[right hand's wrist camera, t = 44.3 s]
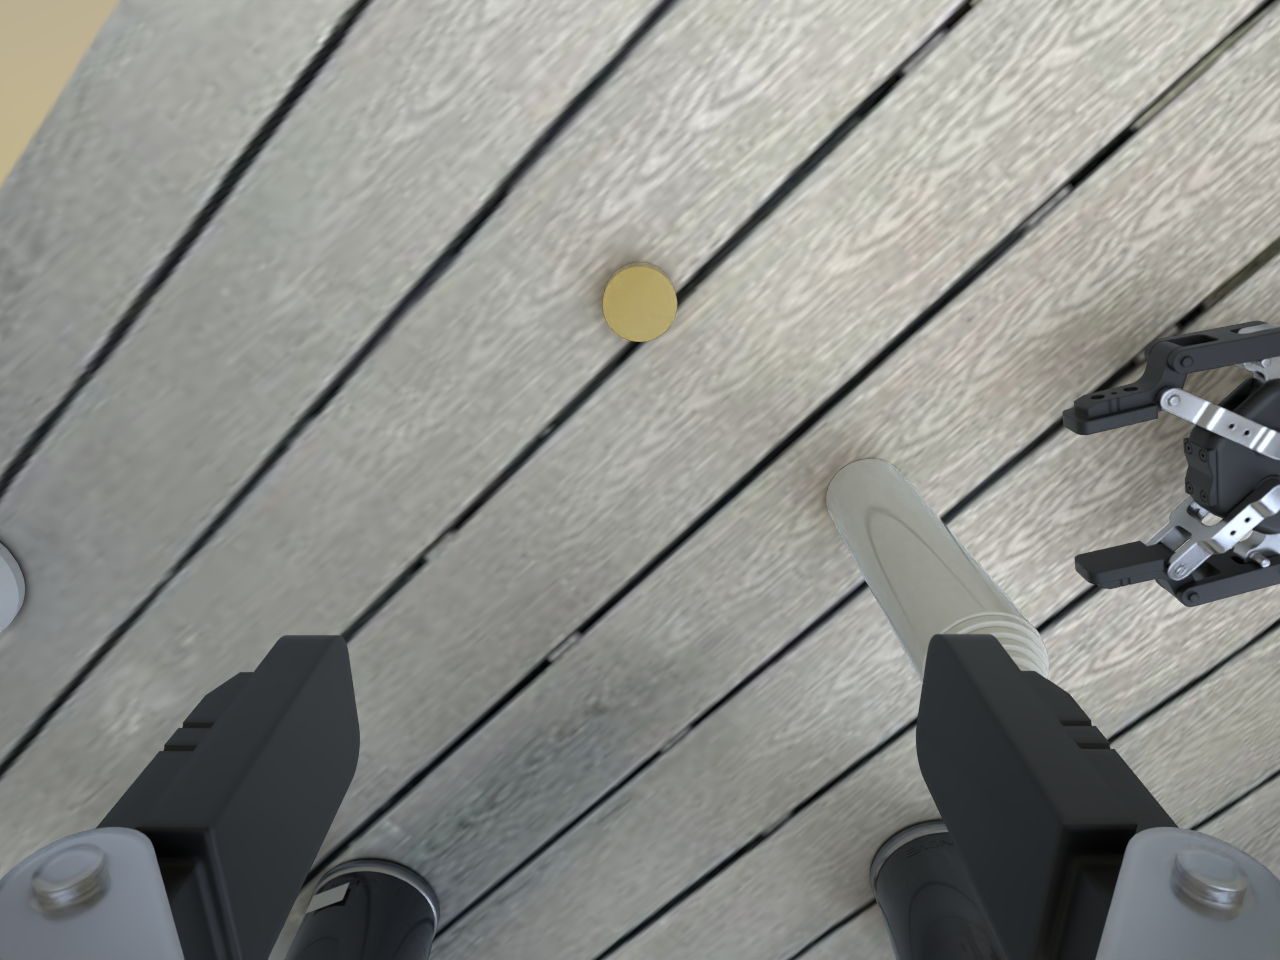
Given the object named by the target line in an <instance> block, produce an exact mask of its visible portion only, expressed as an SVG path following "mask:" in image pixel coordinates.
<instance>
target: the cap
mask: <svg viewBox="0 0 1280 960" xmlns="http://www.w3.org/2000/svg"><path fill="white" fill-rule="evenodd" d="M602 306H603V313H604V316H605V319H606V321H607V323H608V325H609V326H610V327H611V329H612V330H613V331H614V332H615V333H616V334H618V335H619V336H621V337H622V338H625V339H627V340H630V341H635V342H644V341H650V340H653V339H655V338H657V337H659V336H660V335H662V334H663V333H664V332H665V331H666V330H667V329H668V328H669V327H670V325H671V324H672V322H673V320H674V318H675V315H676V311H677V297H676V293H675V289H674V286H673V284H672V282H671V280H670V278H669V277H668V276H667V274H666V273H665V272H664V271H662V270H661V269H660V268H658V267H657V266H654V265H652V264H649V263H644V262H636V263H631V264H628V265H625V266H623V267H621V268H620V269H618V270H617V271H616V272H615V273H614V274H613V275H612V276H611V278H610V279H609V281H608V283H607V285H606V288H605V292H604V295H603V303H602Z"/></svg>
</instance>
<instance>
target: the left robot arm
mask: <svg viewBox="0 0 1280 960" xmlns="http://www.w3.org/2000/svg"><path fill="white" fill-rule="evenodd" d="M1145 358H1146V359H1147V360H1148V363H1147V366H1146V369H1145V372H1144V374H1143V376H1142V377H1141V378H1140V379H1139V380H1138V381H1136V382H1134V383H1132V384H1128V385H1124V386H1120V387H1116V388H1112V389H1108V390H1105V391H1099V392H1096V393H1091V394H1087V395H1083V396H1082V397H1080V398H1079V399H1077V400H1075V401H1074V408H1071V409H1067V410H1065V411H1063V423H1064V426H1065V427H1066V428H1068V429H1070V430H1071V431H1073V432H1075V433H1076V434H1079V435H1089V434H1094V433H1098V432H1102V431H1106V430H1111V429H1115V428H1119V427H1123V426H1127V425H1132V424H1136V423H1140V422H1144V421H1148V420H1153V419H1157V418H1158V411H1162V410H1164V411H1166V412H1169V413H1171V414H1173V415H1176V416H1178V417H1180V418H1182V419H1185V420H1187V421H1189V422H1191V423H1194V424H1196V426H1195V427H1194V428H1193V430H1192V431H1191V433H1190V436H1189V437H1188V438H1184V453H1185V456H1186V459H1187V461H1188V470H1187V474H1186V478H1185V492H1186V493H1188V494H1189V495H1190V496H1189V497H1188V498H1187V499H1186V500H1185V501H1184V502H1183V503H1181V504H1180V505H1179V506H1178V507H1177V508H1176V509H1175V510H1174V511H1173V512H1172V513H1171V514H1170V522H1169V524H1168V525H1167V526H1166V527H1165V528H1163V529H1162V530H1161V531H1160V532H1159V533H1158V534H1157V535H1156V536H1155V537H1154V538H1152V539H1151V540H1150V541H1149V542H1148V543H1147V544H1146V545H1145V544H1144V543H1142V542H1141V541H1137V542H1133V543H1128V544H1124V545H1119V546H1115V547H1110V548H1106V549H1101V550H1097V551H1093V552H1088V553H1084V554H1079V555H1077V556H1076V557H1075V569H1076V571H1077V572H1078V573H1079V574H1080V575H1081V576H1082V577H1083V578H1084V579H1085V580H1087V581H1088V582H1089V583H1092V584H1097V585H1098V586H1099V587H1100V588H1106V589H1113V588H1117V587H1121V586H1126V585H1128V584H1130V585H1131V584H1135V583H1140V582H1144V581H1149V580H1153V579H1155V580H1156V582H1157V583H1158V584H1159V585H1160V586H1161V587H1163V588H1164V589H1166V590H1167V591H1168V592H1170V593H1171V594H1172V595H1173V596H1175V597H1176V598H1177V599H1178V600H1179V601H1180V602H1181V603H1182V604H1184V605H1185V606H1188V607H1193V606H1197V605H1201V604H1205V603H1208V602H1212V601H1216V600H1220V599H1223V598H1227V597H1231V596H1235V595H1238V594H1242V593H1246V592H1250V591H1253V590H1257V589H1261V588H1265V587H1268V586H1272V585H1276V584H1280V326H1278V325H1274V324H1270V323H1266V322H1262V321H1253V322H1247V323H1242V324H1237V325H1231V326H1226V327H1221V328H1215V329H1210V330H1205V331H1200V332H1194V333H1189V334H1184V335H1178V336H1173V337H1168V338H1162V339H1157V340H1154V341H1152V342H1151V343H1149V344H1148V346H1147V347H1146V349H1145ZM1230 365H1234V366H1236V367H1239V368H1242V369H1245V370H1248V371H1252V373H1253V376H1252V377H1250V378H1248V379H1246V380H1245V381H1244V382H1242V383H1241V384H1240V385H1239V386H1238V387H1237V388H1236V389H1235V390H1234V391H1233V392H1231V393H1230V394H1229V395H1228V396H1227V397H1226V398H1225V399H1224V400H1223V401H1221V402H1220V403H1219V404H1218V405H1215V404H1213V403H1211V402H1209V401H1206V400H1204V399H1202V398H1200V397H1197V396H1195V395H1193V394H1191V393H1188V392H1186V391H1184V390H1182V389H1183V386H1184V383H1185V380H1186V377H1187V374H1188V373H1192V372H1198V371H1203V370H1209V369H1214V368H1219V367H1225V366H1230ZM1209 512H1210V513H1212V514H1214V515H1216V516H1218V517H1221V518H1223V519H1222V520H1221V521H1220V522H1219V523H1217V524H1215V525H1213V526H1206V525H1204V524H1203V523H1201V521H1202V519H1203V518H1204V517H1205V516H1206V515H1207V514H1208V513H1209ZM1251 530H1253V533H1252V535H1251V536H1250V537H1249V538H1248V539H1246V540H1244V541H1241V542H1240V541H1239V540H1240V539H1242V538H1243V537H1244V536H1245V535H1246V534H1247V533H1248V532H1250V531H1251ZM1189 539H1190V540H1189ZM1187 540H1189V541H1188V542H1187V543H1186V544H1184V543H1185V542H1186V541H1187ZM1183 544H1184V545H1183ZM1182 545H1183V546H1182ZM1180 546H1182V547H1181V548H1180V549H1179V550H1178V551H1177V552H1175V551H1176V550H1177V549H1178V548H1179V547H1180ZM1231 547H1232V549H1230V548H1231ZM870 881H871V886H872V890H873V893H874V896H875V899H876V901H877V904H878V906H879V907H880V910H881V913H882V916H883V919H884V922H885V925H886V928H887V932H888V935H889V938H890V941H891V944H892V947H893V950H894V953H895V956H896V959H897V960H1008V959H1007V956H1006V954H1005V952H1004V950H1003V948H1002V946H1001V943H1000V941H999V939H998V937H997V935H996V933H995V931H994V928H993V926H992V924H991V922H990V920H989V918H988V916H987V913H986V911H985V909H984V907H983V905H982V903H981V900H980V898H979V896H978V894H977V892H976V890H975V888H974V885H973V883H972V881H971V879H970V877H969V875H968V873H967V870H966V868H965V866H964V864H963V862H962V860H961V858H960V855H959V853H958V851H957V849H956V847H955V845H954V842H953V840H952V838H951V836H950V834H949V832H948V830H947V827H946V825H945V823H944V821H933V822H927V823H922V824H919V825H916V826H913V827H910V828H908V829H906V830H904V831H902V832H900V833H898V834H897V835H895V836H894V837H893V838H891V839H890V840H889V841H888V842H887V843H886V844H885V845H884V846H883V847H882V848H881V849H880V851H879V852H878V854H877V855H876V857H875V859H874V861H873V864H872V867H871V873H870Z"/></svg>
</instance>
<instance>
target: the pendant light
mask: <svg viewBox="0 0 1280 960" xmlns="http://www.w3.org/2000/svg"><path fill="white" fill-rule="evenodd" d="M24 596H25V584H24V578H23V575H22V572H21V570H20V568H19V565H18V563H17V562H16V560H15V559H14V558H13V556H12V555H11V553H10V552H9V551H8V549H7V548H6V547H4V546H3V545H2V544H1V543H0V632H2V631H3V630H4V629H6V628H7V627H8V626H9V624H10V623H11V622H12V621H13V619H14V618H15V616H16V615H17V613H18V612H19V610H20V608H21V606H22V604H23V601H24Z"/></svg>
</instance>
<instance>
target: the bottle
mask: <svg viewBox="0 0 1280 960" xmlns="http://www.w3.org/2000/svg"><path fill="white" fill-rule="evenodd" d="M826 506H827V510H828V513H829V515H830V517H831V519H832V520H833V522H834V524H835V526H836V528H837V530H838V531H839V533H840V535H841V537H842V539H843V540H844V542H845V544H846V546H847V548H848V550H849V551H850V553H851V555H852V557H853V559H854V560H855V562H856V564H857V566H858V568H859V570H860V571H861V573H862V575H863V577H864V579H865V581H866V582H867V584H868V586H869V588H870V590H871V591H872V593H873V595H874V597H875V599H876V601H877V602H878V604H879V606H880V608H881V610H882V611H883V613H884V615H885V617H886V619H887V621H888V622H889V624H890V626H891V628H892V630H893V631H894V633H895V635H896V637H897V639H898V641H899V642H900V644H901V646H902V648H903V650H904V651H905V653H906V655H907V657H908V659H909V661H910V662H911V664H912V666H913V668H914V670H915V672H916V673H917V675H918V677H919V679H920V681H921V682H922V684H923V678H924V670H925V663H926V656H927V650H928V645H929V642H930V640H931V638H932V637H933V636H934V635H935V634H991V635H993V636H995V637H996V638H997V640H998V641H999V642H1000V644H1001V645H1002V646H1003V647H1004V649H1005V650H1006V651H1007V653H1008V654H1009V655H1010V657H1011V658H1012V659H1013V661H1014V662H1015V663H1016V665H1017V666H1018V667H1019V669H1020V670H1021V671H1036V672H1037V673H1039V674H1040V675H1042V676H1043V677H1045V678H1046V679H1048V669H1049V659H1048V654H1047V650H1046V648H1045V646H1044V642H1043V640H1042V638H1041V636H1040V634H1039V633H1038V631H1037V630H1036V628H1035V627H1034V626H1033V625H1032V624H1031V623H1030V622H1029V620H1028V619H1027V618H1026V617H1025V616H1024V615H1023V613H1022V612H1021V611H1020V610H1019V609H1018V608H1017V606H1016V605H1015V604H1014V603H1013V602H1012V601H1011V599H1010V598H1009V597H1008V596H1007V595H1006V594H1005V593H1004V591H1003V590H1002V589H1001V588H1000V587H999V586H998V584H997V583H996V582H995V581H994V580H993V579H992V577H991V576H990V575H989V574H988V573H987V572H986V570H985V569H984V568H983V567H982V566H981V565H980V564H979V562H978V561H977V560H976V559H975V558H974V557H973V555H972V554H971V553H970V552H969V551H968V550H967V548H966V547H965V546H964V545H963V544H962V543H961V541H960V540H959V539H958V538H957V537H956V536H955V535H954V533H953V532H952V531H951V530H950V529H949V528H948V526H947V525H946V524H945V523H944V522H943V521H942V519H941V518H940V517H939V516H938V515H937V514H936V513H935V511H934V510H933V509H932V508H931V507H930V506H929V504H928V503H927V502H926V501H925V500H924V499H923V497H922V496H921V495H920V494H919V493H918V492H917V490H916V489H915V488H914V487H913V486H912V485H911V484H910V482H909V481H908V480H907V479H906V478H905V477H904V475H903V474H902V473H901V472H900V471H899V470H898V469H897V468H896V467H895V466H893V465H892V464H890V463H888V462H886V461H883V460H879V459H862V460H858V461H855V462H853V463H850V464H849V465H847V466H845V467H844V468H842V469H841V470H840V471H839V472H838V473H837V474H836V475H835V476H834V478H833V479H832V481H831V483H830V485H829V487H828V490H827V495H826Z"/></svg>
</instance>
